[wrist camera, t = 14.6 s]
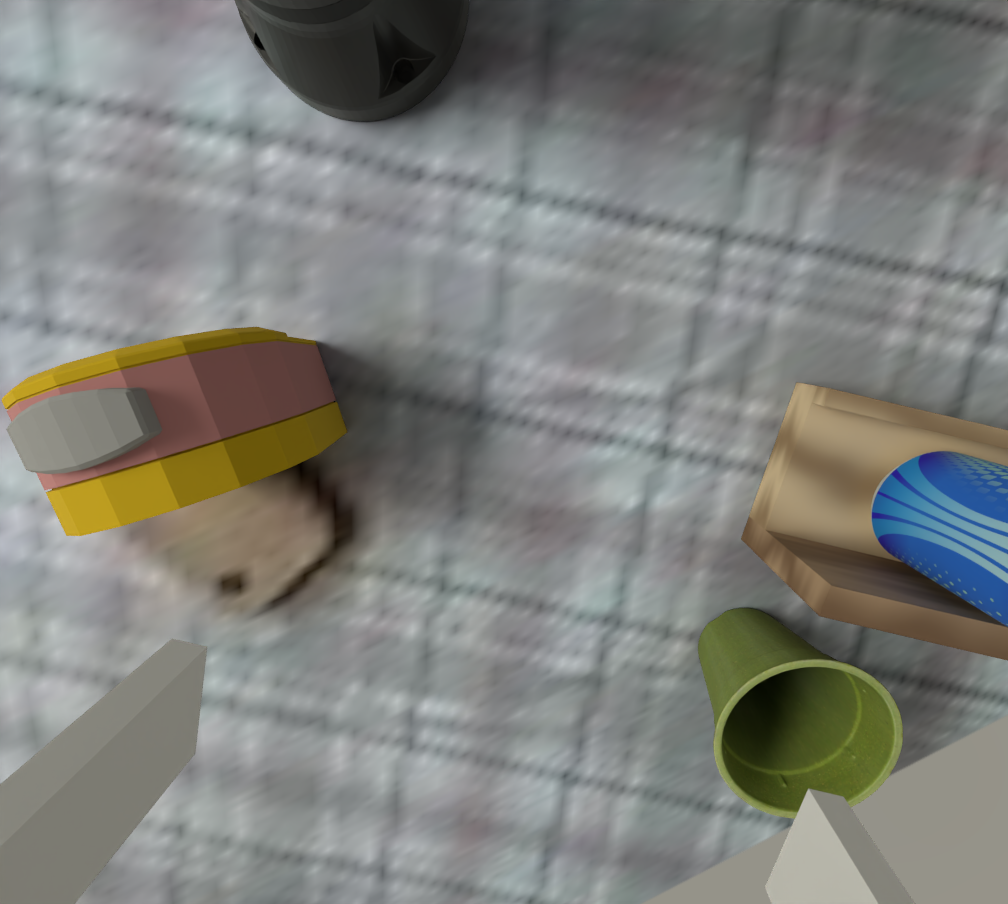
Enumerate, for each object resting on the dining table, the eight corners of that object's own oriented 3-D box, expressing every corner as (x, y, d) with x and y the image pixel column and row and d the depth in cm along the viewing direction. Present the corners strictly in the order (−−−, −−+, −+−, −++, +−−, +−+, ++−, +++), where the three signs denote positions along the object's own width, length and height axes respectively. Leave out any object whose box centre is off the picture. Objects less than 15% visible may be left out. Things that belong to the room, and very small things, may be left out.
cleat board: (796, 382, 40) (906, 402, 28) (1054, 443, 40) (1269, 488, 28) (741, 539, 43) (819, 615, 31) (980, 595, 43) (1149, 693, 31)
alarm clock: (332, 325, 41) (178, 318, 23) (367, 426, 43) (248, 493, 25) (161, 378, 43) (-108, 410, 25) (201, 473, 44) (-25, 568, 26)
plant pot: (826, 683, 45) (921, 795, 34) (690, 718, 47) (739, 836, 36) (795, 561, 43) (884, 639, 32) (653, 602, 45) (693, 690, 34)
